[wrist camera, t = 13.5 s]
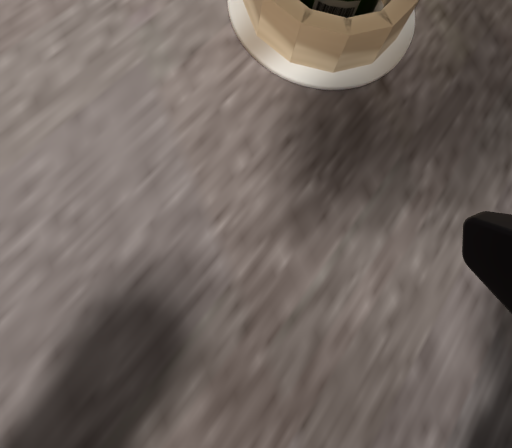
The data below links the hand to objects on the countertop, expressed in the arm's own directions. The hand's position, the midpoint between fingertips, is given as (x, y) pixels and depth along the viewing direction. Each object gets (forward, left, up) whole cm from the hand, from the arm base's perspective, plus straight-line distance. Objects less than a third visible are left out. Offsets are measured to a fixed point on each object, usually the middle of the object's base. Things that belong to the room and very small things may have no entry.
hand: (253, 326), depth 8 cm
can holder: (+9, -18, -14) cm, 24 cm away
